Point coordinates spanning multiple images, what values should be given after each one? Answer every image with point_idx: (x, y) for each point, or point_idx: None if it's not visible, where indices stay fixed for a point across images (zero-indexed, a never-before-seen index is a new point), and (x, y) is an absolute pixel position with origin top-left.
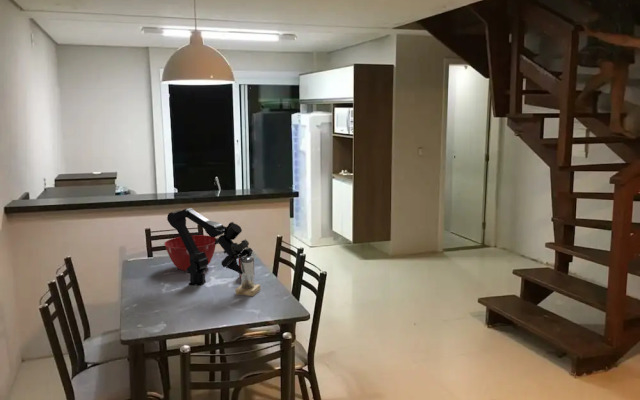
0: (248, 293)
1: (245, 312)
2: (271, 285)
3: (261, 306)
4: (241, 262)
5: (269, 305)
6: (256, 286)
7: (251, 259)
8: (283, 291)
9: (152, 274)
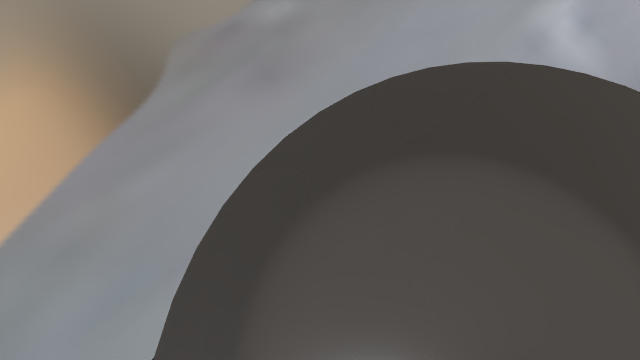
0: None
1: (622, 54)
2: (74, 257)
3: (490, 37)
4: None
5: (445, 10)
6: None
7: (513, 69)
8: (172, 82)
9: None
